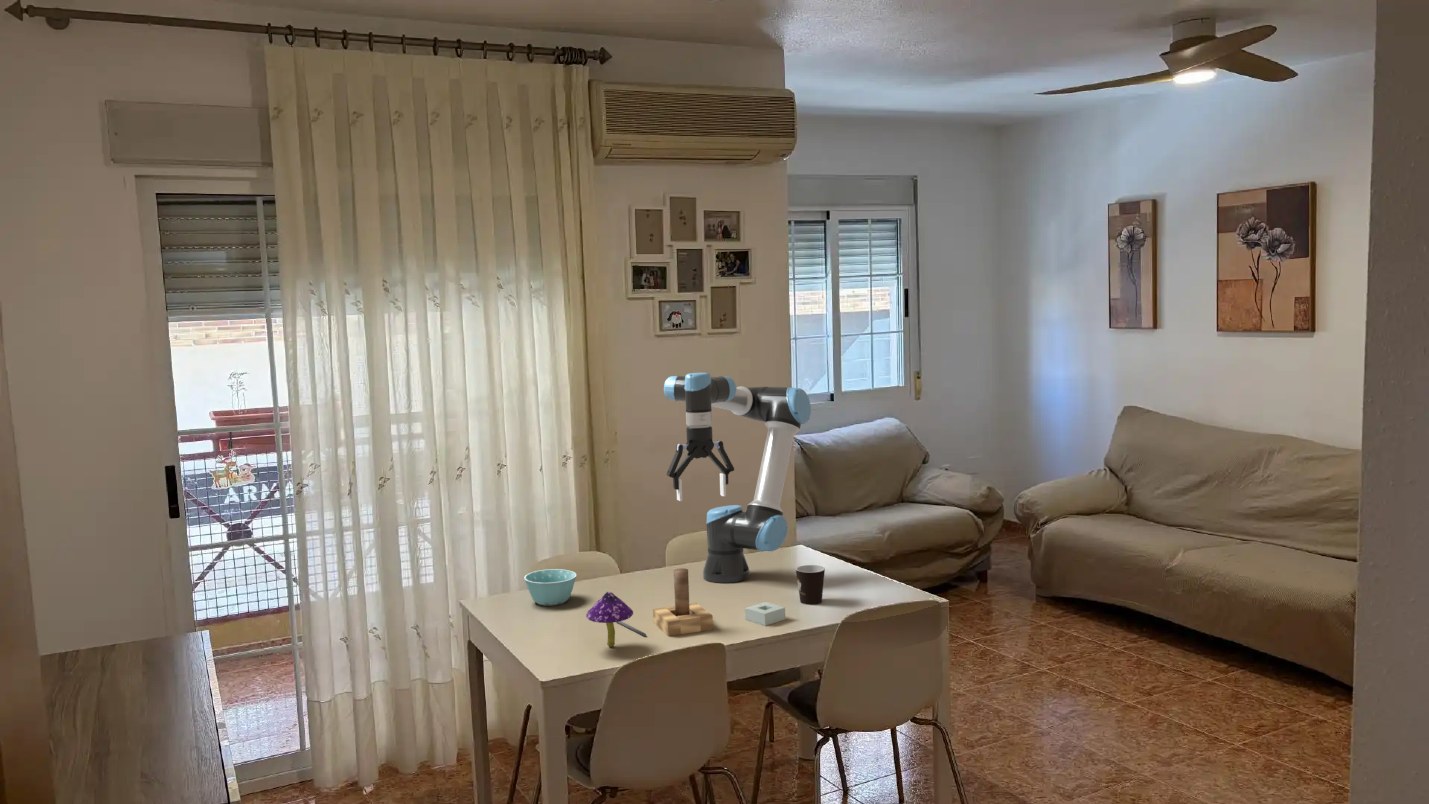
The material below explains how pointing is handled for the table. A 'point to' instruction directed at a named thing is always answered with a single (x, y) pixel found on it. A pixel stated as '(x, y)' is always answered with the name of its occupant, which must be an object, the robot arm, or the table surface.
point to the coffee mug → (810, 583)
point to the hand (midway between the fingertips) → (701, 498)
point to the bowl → (550, 586)
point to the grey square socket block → (765, 613)
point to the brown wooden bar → (681, 592)
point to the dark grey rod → (631, 628)
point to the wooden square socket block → (682, 620)
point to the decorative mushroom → (609, 613)
